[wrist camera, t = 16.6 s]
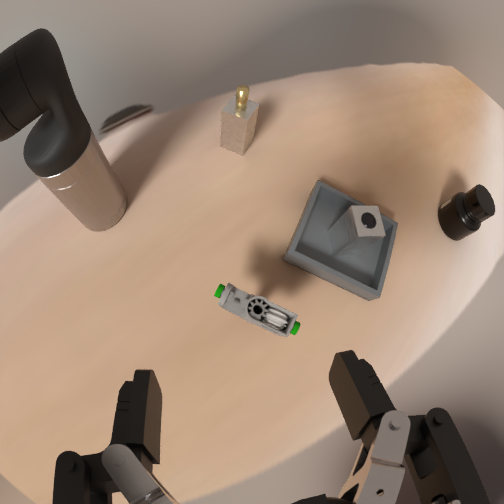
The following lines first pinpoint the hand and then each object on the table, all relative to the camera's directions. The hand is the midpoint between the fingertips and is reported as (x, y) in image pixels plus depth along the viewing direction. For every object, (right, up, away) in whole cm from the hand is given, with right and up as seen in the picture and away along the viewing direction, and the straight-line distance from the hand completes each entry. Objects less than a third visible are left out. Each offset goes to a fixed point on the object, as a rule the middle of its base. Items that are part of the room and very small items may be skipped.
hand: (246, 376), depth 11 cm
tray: (+15, +7, +34) cm, 38 cm away
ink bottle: (+44, +12, +39) cm, 60 cm away
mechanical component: (0, -4, +29) cm, 29 cm away
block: (+15, +7, +34) cm, 37 cm away
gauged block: (-3, +25, +38) cm, 46 cm away
